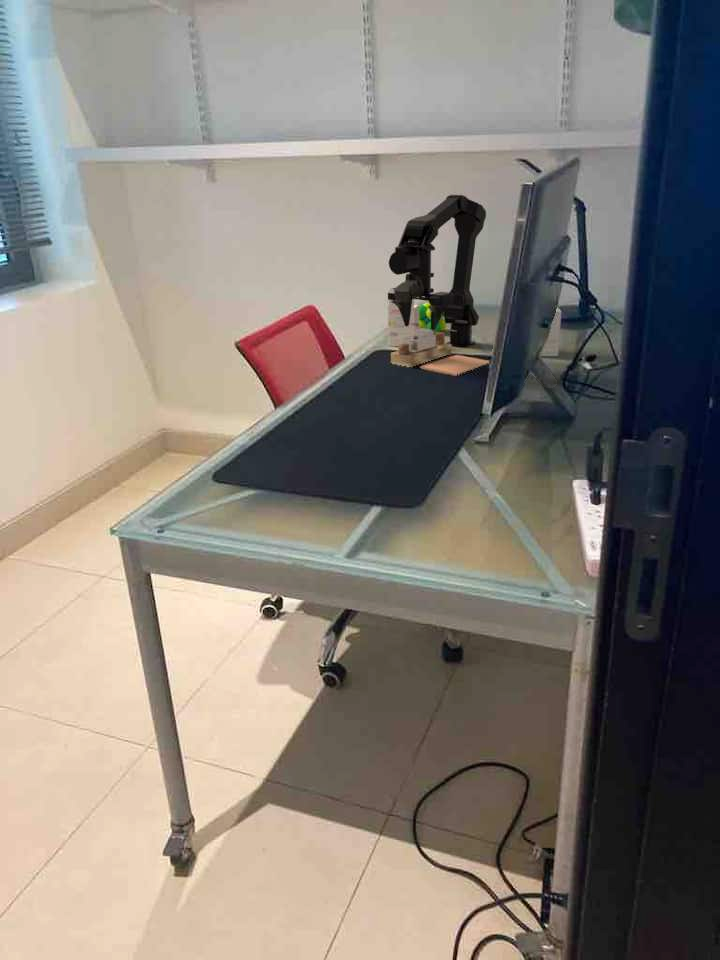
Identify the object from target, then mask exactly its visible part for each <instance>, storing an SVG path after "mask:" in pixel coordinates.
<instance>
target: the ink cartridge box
mask: <svg viewBox="0 0 720 960" xmlns="http://www.w3.org/2000/svg"><path fill="white" fill-rule="evenodd" d="M387 301H388V303H387V305H388V306H387V338H388V339H387V341H388V343H387V345H388V346H389V347H399V344H403V338H405V337H409V336H412V335H415V330H417V329H419V305H420V304H415V299H412V306H411V314H410V322H409V326H405V324H404V321H403V318H402V315H401V313H400V310H399V308H398V306H396V305H395V304H394V303H392V302H391V301H393V300H389V299H388V298H387Z"/></svg>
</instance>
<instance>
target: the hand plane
mask: <svg viewBox="0 0 720 960" xmlns="http://www.w3.org/2000/svg"><path fill="white" fill-rule="evenodd" d="M433 335H436V346H434V347H431V348H428V349H424V350H421V351H412V350H409V344H399V346H398V350H396V351H393V352H390V364H391V363H392V365H395V364H396V366H400V365H401V366H400V367H404V366H406V367H405V368H409V367H411V368H414V367H413V366H415V367H416V365H418V366H420V365H419V364H421V365H424V364H426V363H425V362H427V363H429V362H428V361H430V362H432V361H431V360H434V359H437V358H440V357H443V356H446V355H449V356H452V345H451V344H446V343H447V342H445V341H446V340H445V337H446V335H445V331H440V332H436V333H433ZM446 357H447V356H446ZM443 358H444V357H443ZM440 359H441V358H440ZM437 360H438V359H437ZM434 361H435V360H434ZM423 363H424V364H423Z"/></svg>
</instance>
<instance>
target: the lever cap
mask: <svg viewBox="0 0 720 960" xmlns="http://www.w3.org/2000/svg"><path fill="white" fill-rule="evenodd" d="M403 344H409V350H412V351H421V350H424V349H428V348H431V347H434V346H436V335H433V331H432V330H430V329H424V328H421V329H417V330H415V335H412V336H409V337H405V338H403Z"/></svg>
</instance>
